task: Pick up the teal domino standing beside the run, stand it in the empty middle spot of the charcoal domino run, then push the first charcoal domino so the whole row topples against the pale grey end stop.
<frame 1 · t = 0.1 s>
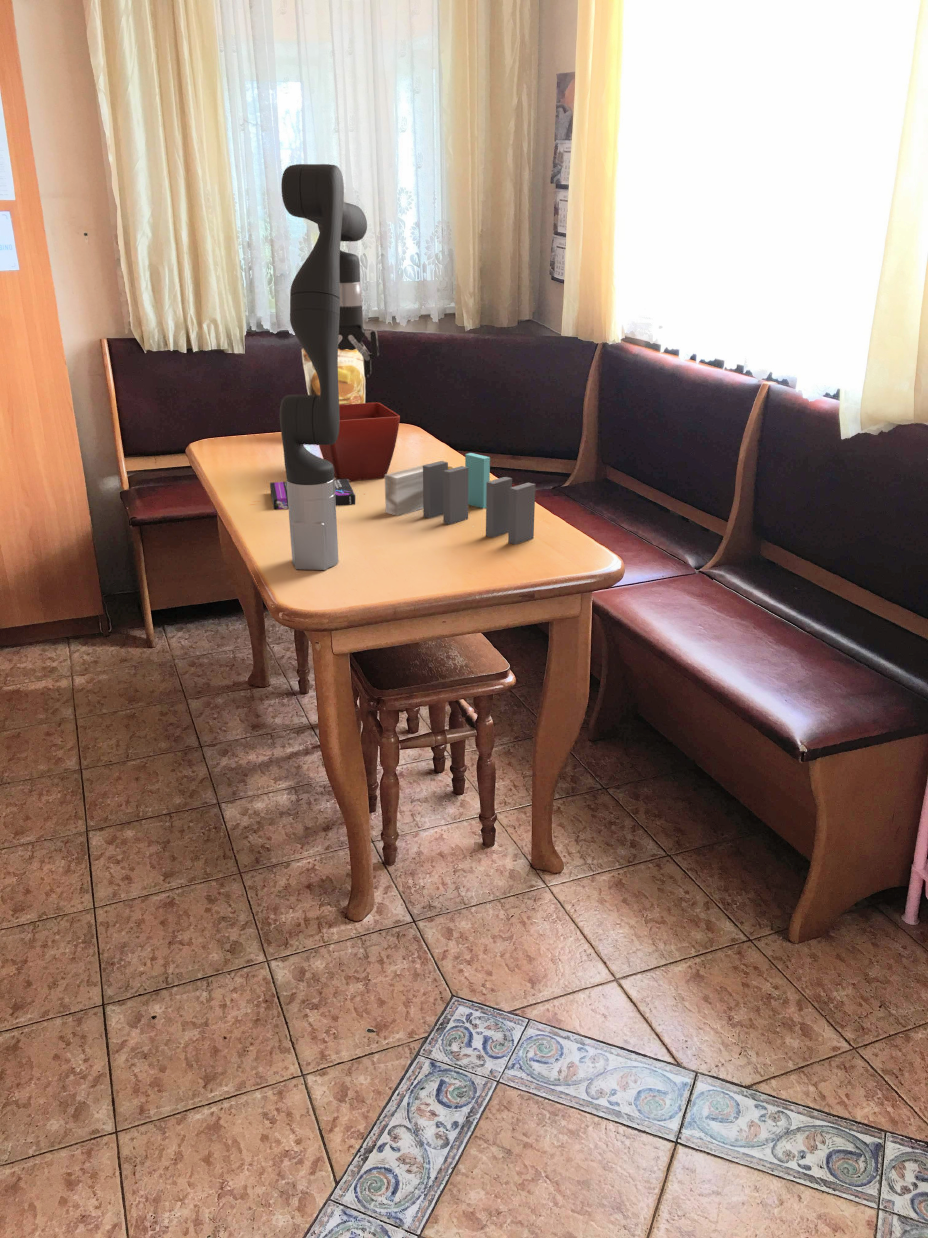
hand: (348, 376, 224), 29 cm above the table, tool pointing down, fingers open, 8 cm apart
end stop: (413, 507, 229), on the table
domino 2: (498, 533, 211), on the table
plant pot: (357, 475, 256), on the table
domino 5: (435, 514, 224), on the table
pancake mix bag: (338, 442, 290), on the table
box: (312, 501, 235), on the table
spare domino: (477, 505, 231), on the table
domino 4: (455, 520, 220), on the table
domino 1: (520, 540, 207), on the table
decorative rock: (441, 485, 248), on the table
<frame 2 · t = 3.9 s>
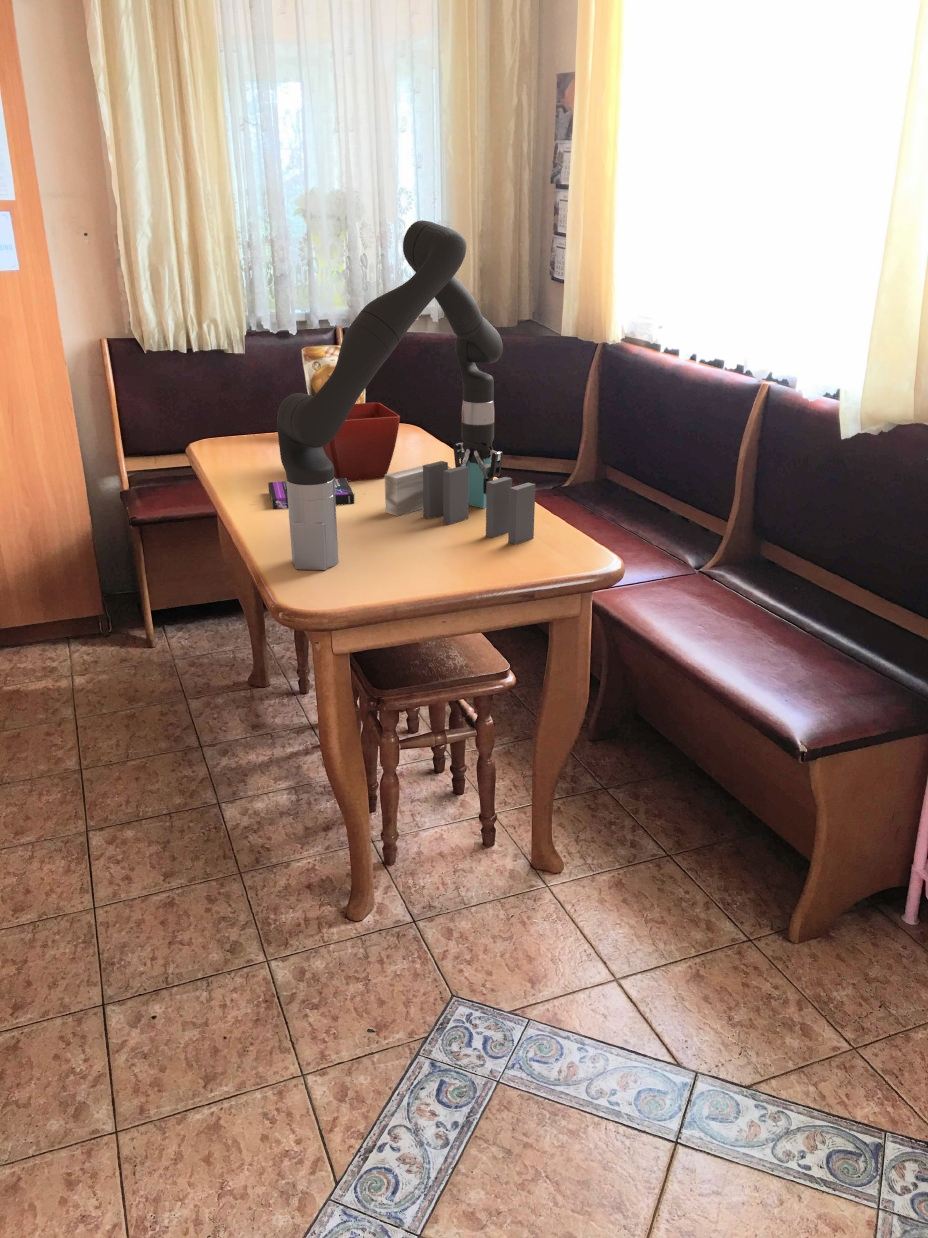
hand: (477, 490, 229), 4 cm above the table, tool pointing down, fingers closed on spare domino, 6 cm apart
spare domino: (477, 505, 231), on the table, touching gripper
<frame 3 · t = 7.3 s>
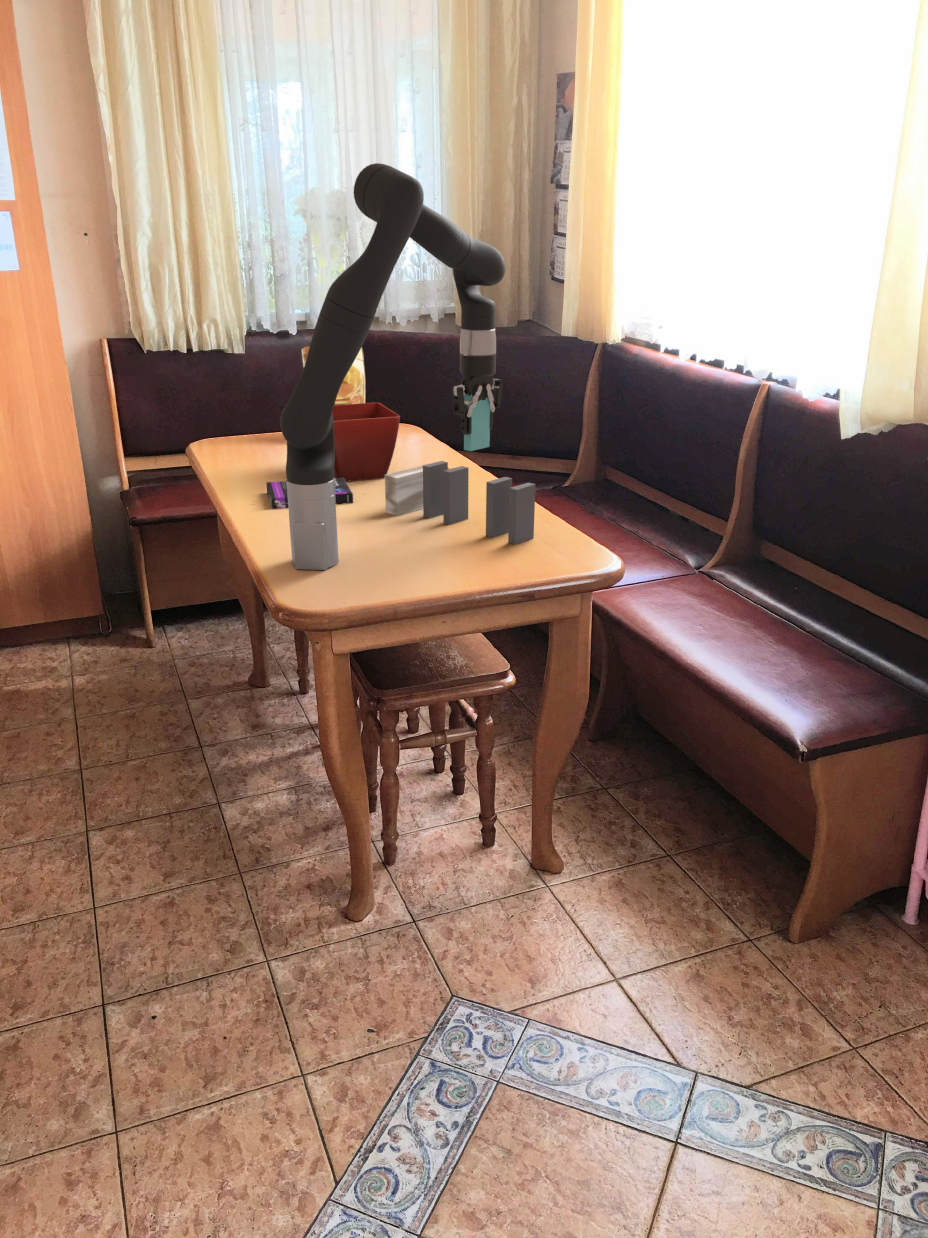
hand: (477, 431, 207), 21 cm above the table, tool pointing down, fingers closed on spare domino, 6 cm apart
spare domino: (476, 448, 209), point 18 cm above the table, touching gripper
when the fingers open (5 cm above the table, at t = 11.0 s): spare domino stays where it is, on the table.
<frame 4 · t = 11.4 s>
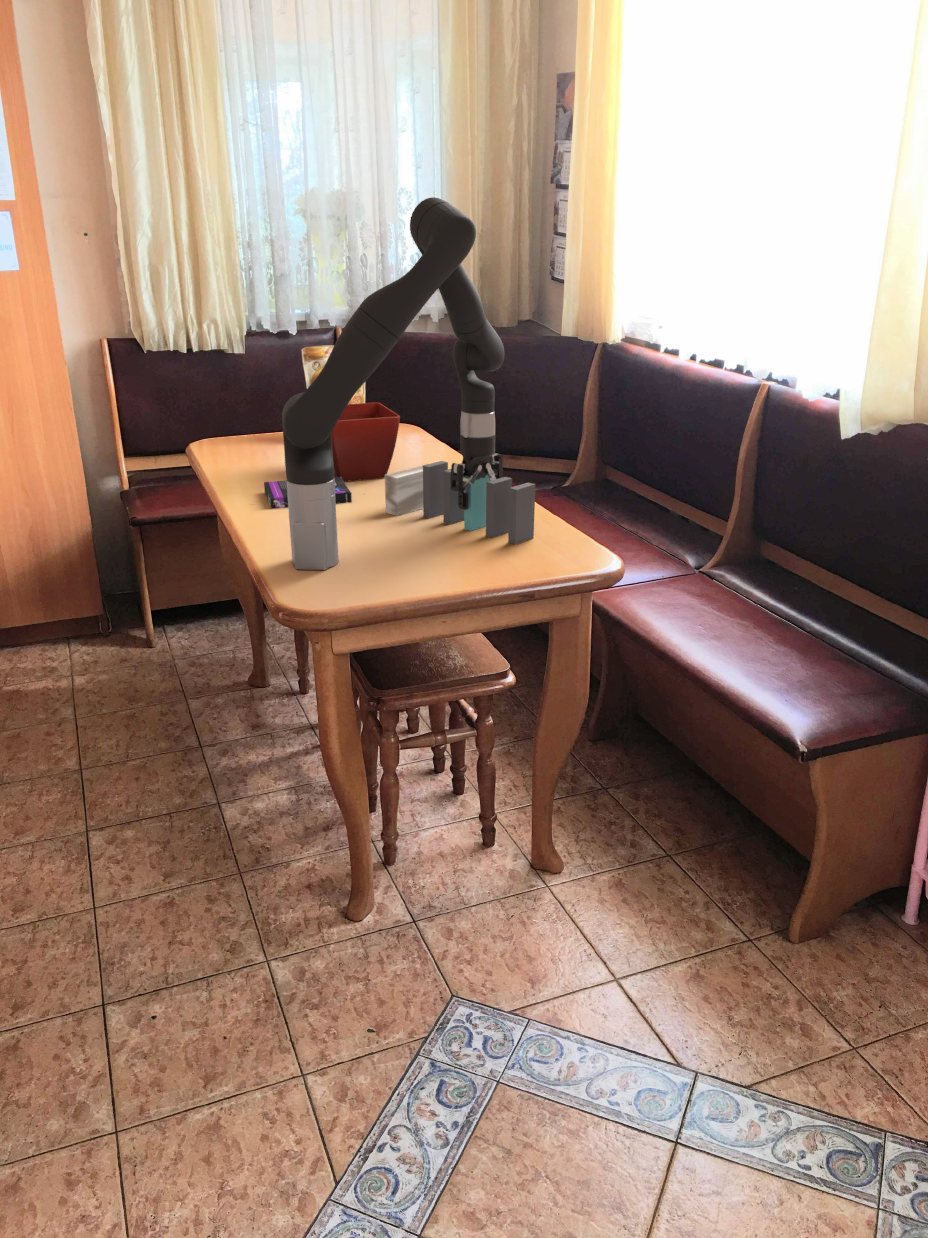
hand: (476, 504, 214), 5 cm above the table, tool pointing down, fingers open, 8 cm apart
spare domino: (476, 527, 216), on the table
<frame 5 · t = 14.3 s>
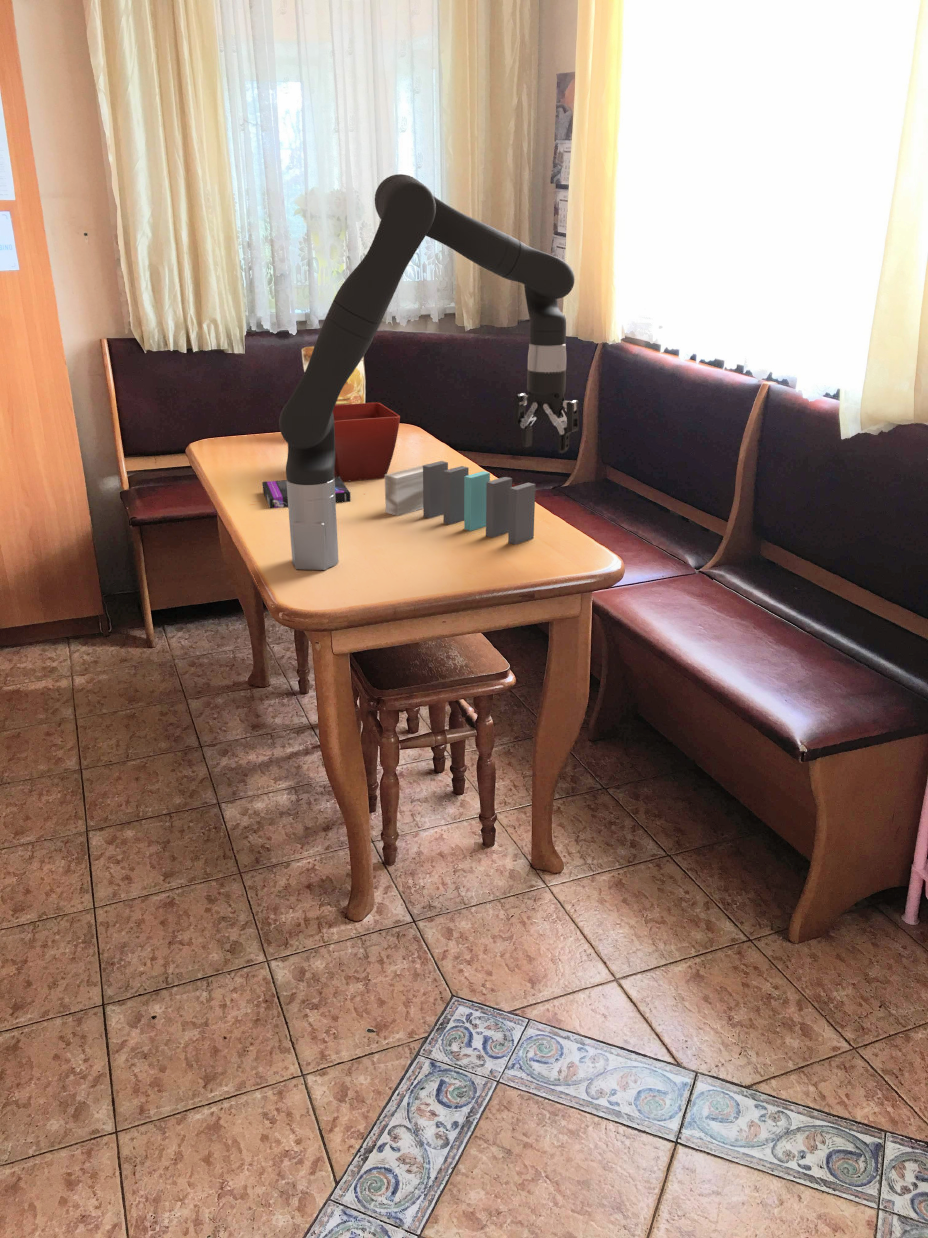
hand: (544, 449, 196), 21 cm above the table, tool pointing down, fingers open, 8 cm apart
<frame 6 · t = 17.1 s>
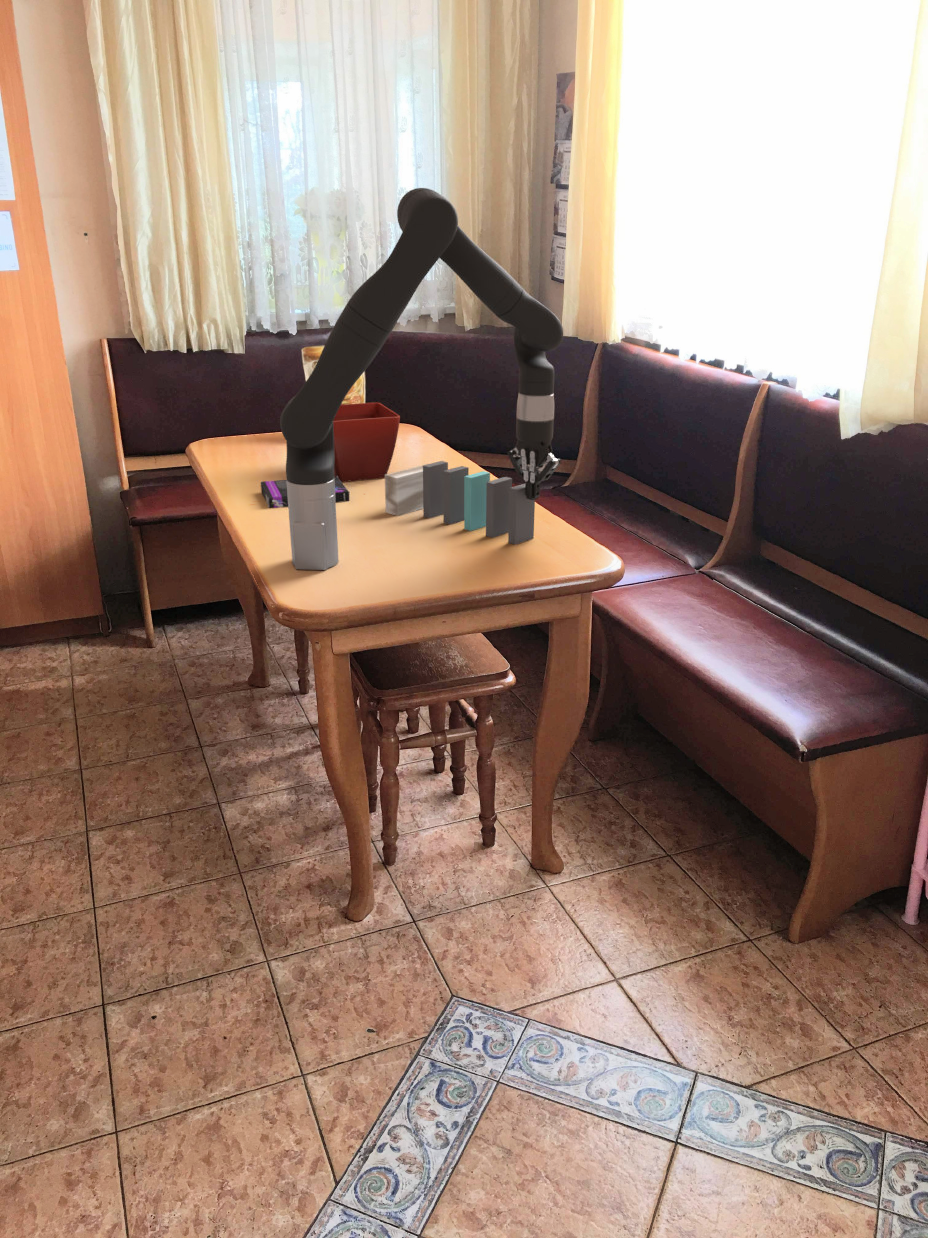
hand: (532, 498, 201), 10 cm above the table, tool pointing down, fingers closed
domino 1: (520, 540, 207), on the table, touching gripper
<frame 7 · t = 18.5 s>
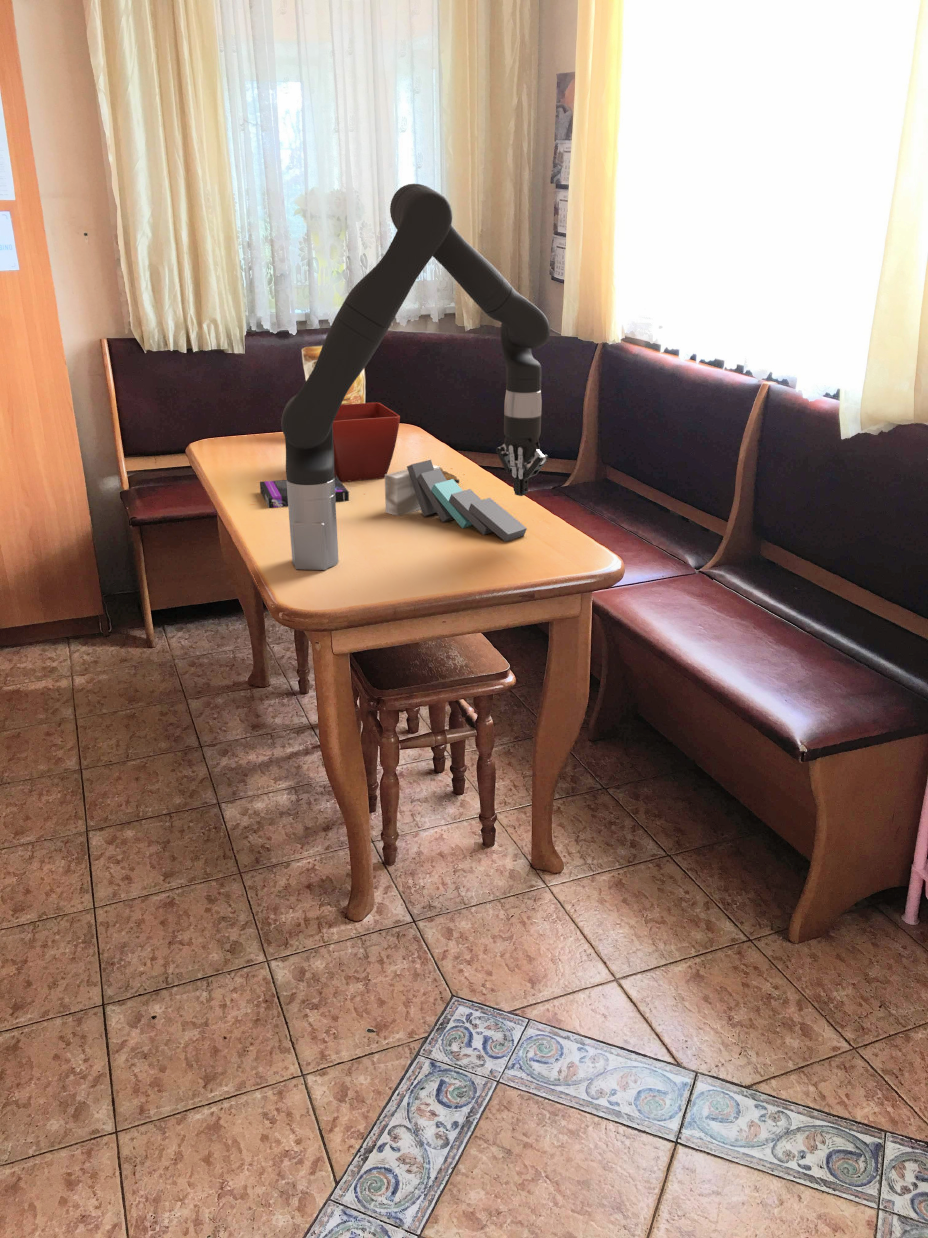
hand: (520, 494, 204), 10 cm above the table, tool pointing down, fingers closed
domino 2: (494, 528, 212), point 1 cm above the table, tilted 63°, touching domino 1, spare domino
domino 5: (435, 512, 224), on the table, tilted 27°, touching domino 4, end stop
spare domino: (473, 522, 216), point 1 cm above the table, tilted 56°, touching domino 2, domino 4
domino 4: (454, 517, 220), point 1 cm above the table, tilted 44°, touching domino 5, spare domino
domino 1: (516, 534, 208), point 1 cm above the table, tilted 68°, touching domino 2
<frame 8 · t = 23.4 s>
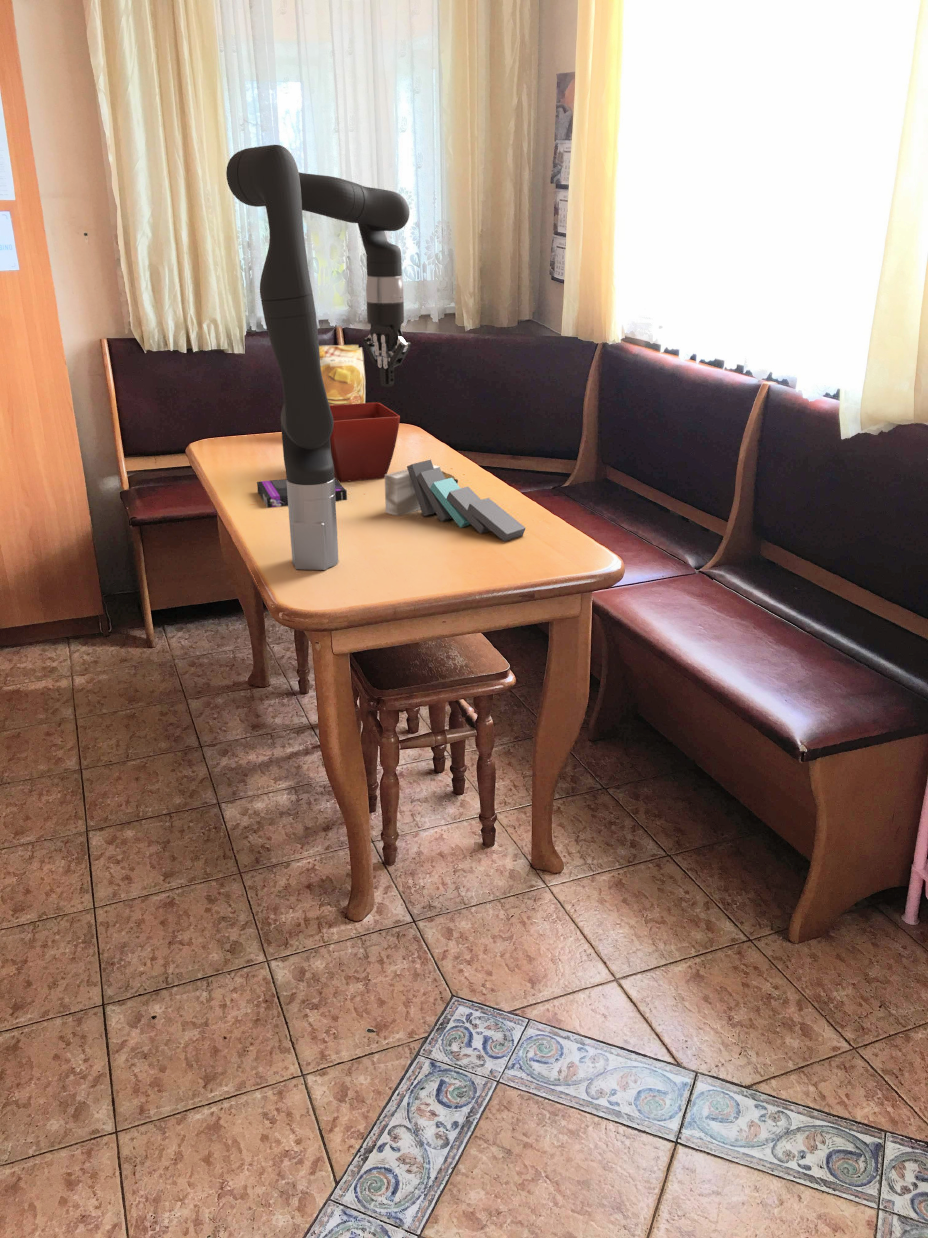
hand: (387, 385, 203), 31 cm above the table, tool pointing down, fingers closed
domino 2: (491, 527, 213), point 1 cm above the table, tilted 61°, touching domino 1, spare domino
at the end: domino 5 tilted 26°; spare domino tilted 54°; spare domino inside the target area (1.2 cm from its centre), point 0.8 cm above the table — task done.
